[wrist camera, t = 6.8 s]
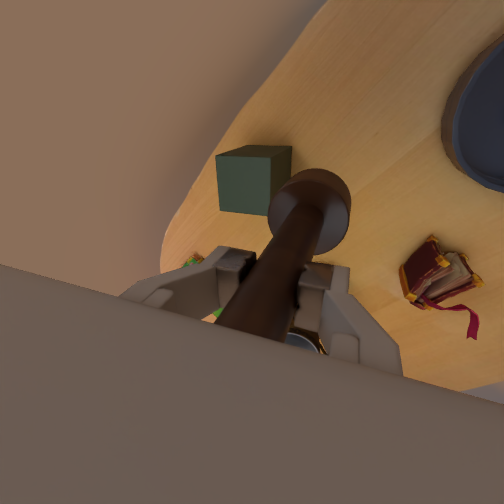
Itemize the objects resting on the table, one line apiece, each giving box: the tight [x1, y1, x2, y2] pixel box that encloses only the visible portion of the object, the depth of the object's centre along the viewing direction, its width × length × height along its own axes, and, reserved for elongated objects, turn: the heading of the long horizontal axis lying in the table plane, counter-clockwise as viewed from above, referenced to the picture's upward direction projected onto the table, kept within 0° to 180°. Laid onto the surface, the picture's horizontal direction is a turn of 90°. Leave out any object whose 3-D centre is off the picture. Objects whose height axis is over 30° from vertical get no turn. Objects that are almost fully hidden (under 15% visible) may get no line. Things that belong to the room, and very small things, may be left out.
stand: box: [215, 145, 292, 216], centre depth 41 cm, size 8×8×12 cm
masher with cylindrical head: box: [213, 168, 351, 343], centre depth 11 cm, size 5×5×14 cm
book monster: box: [399, 235, 486, 340], centre depth 39 cm, size 11×9×12 cm
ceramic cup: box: [284, 309, 328, 355], centre depth 55 cm, size 13×10×10 cm
